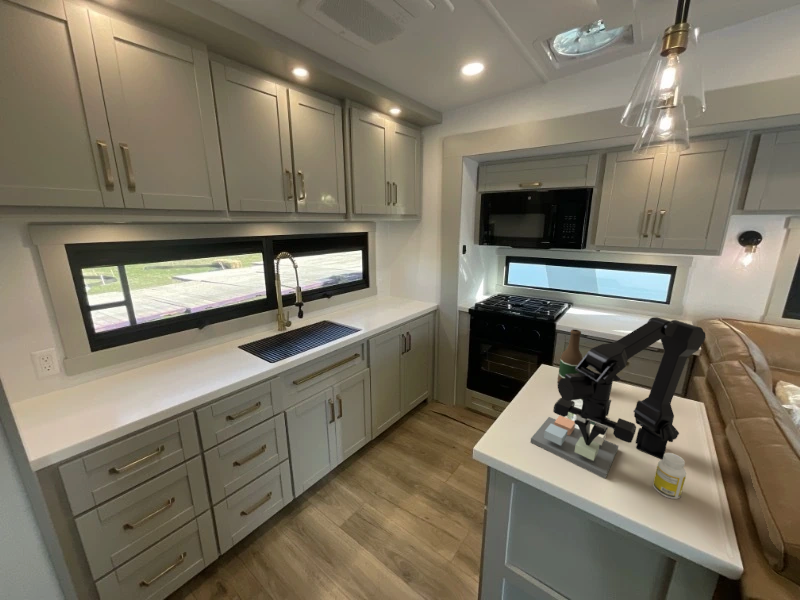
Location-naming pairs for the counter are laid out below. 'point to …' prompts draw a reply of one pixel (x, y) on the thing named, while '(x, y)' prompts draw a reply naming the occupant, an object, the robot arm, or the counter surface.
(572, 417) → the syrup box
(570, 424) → the terracotta key
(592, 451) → the sage green key
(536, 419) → the counter surface
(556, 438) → the slate blue key
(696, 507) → the counter surface
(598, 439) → the cream key
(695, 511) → the counter surface
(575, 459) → the keypad base
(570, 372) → the beer bottle
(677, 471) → the supplement bottle
